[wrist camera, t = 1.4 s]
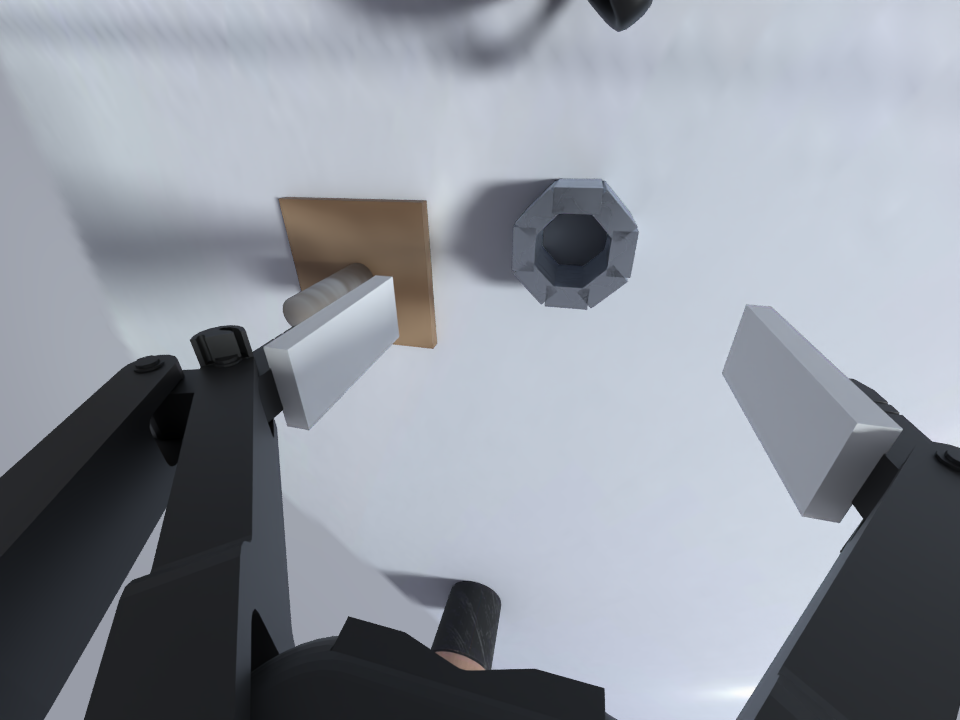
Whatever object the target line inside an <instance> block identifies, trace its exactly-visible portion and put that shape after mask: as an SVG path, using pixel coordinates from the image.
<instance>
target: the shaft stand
mask: <svg viewBox="0 0 960 720" xmlns="http://www.w3.org/2000/svg"><path fill="white" fill-rule="evenodd" d="M279 203H280V207H281V211H282V215H283V219H284V223H285V227H286V231H287V235H288V239H289V243H290V247H291V251H292V255H293V259H294V263H295V267H296V271H297V275H298V279H299V283H300V287H301V292H300V293H298V294H296V295H294V296H292V297H290V298H289V299H287V300H286V301H285V302H284V304H283V313H284V316H285V318H286V320H287V322H288V323H289V324H290V325H291V326H292V327H293V326H295V325H298V324H300V323H301V322H303V321H305V320H306V319H308V318H309V317H311V316H312V315H314V314H316V313H317V312H319V311H320V310H322V309H323V308H325V307H327V306H328V305H330V304H331V303H333V302H334V301H336V300H338V299H339V298H341V297H342V296H344V295H345V294H347V293H349V292H350V291H352V290H353V289H355V288H357V287H358V286H360V285H361V284H363V283H364V282H366V281H368V280H369V279H371V278H372V277H374V276H375V275H377V276H390V277H393V285H394V294H395V303H396V311H397V320H398V329H399V338H398V339H397V340H396V341H395V342H394V343H393V344H395V345H404V346H413V347H422V348H431V349H433V348H434V347H435V346H436V344H437V337H436V324H435V310H434V297H433V283H432V269H431V256H430V242H429V229H428V215H427V201H424V200H385V199H345V198H306V197H284V198H280V199H279Z"/></svg>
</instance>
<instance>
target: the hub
mask: <svg viewBox="0 0 960 720" xmlns="http://www.w3.org/2000/svg"><path fill="white" fill-rule="evenodd" d="M558 214H592V215H593V216H594V218H595V219H596V220H597V221H598V222H599V224H600V225H601V226H602V227H603V228H604V230H605V231H606V232H607V237H606V243H605V249H604V250H603V251H601V252H600V253H599V254H598V255H596V256H595V257H594V258H593V259H591V260H590V261H589V262H588V263H586V264H585V265H584V266H582V265H565V264H558V263H557V262H556V261H555V259H554V258H553V257H552V256H551V255H550V254H549V253H548V251H547V250H546V249H545V248H544V247H543V231H544V227H545V226H547V225H548V224H549V223H550V222H551V221H552V220H553V219H554V218H555V217H556V216H557V215H558ZM515 223H516V224H515V225H514V227H513V252H512V271H515V272H514V276H515V277H516V278H517V279H518V280H519V281H520V282H521V283H522V284H523V285H524V286H525V287H526V289H527V290H528V291H529V292H530V293H531V294H532V295H533V296H534V297H535V298H536V299H537V301H538V302H539V303H540V304H542V303H544V302H545V306H548V307H560V308H573V309H585V310H587V306H589V307H590V308H592V307H594V306H595V305H597V304H598V303H599V302H601V301H602V300H603V299H605V298H606V297H608V296H609V295H610V294H612V293H613V292H614V291H616V290H617V289H618V288H620V287H621V286H623V285H624V284H625V283H627V282H628V281H627V278H630V276H631V271H632V266H633V260H634V255H635V250H636V244H637V239H638V233H639V231H638V229H637V225H636V223H635V221H634V219H633V217H632V215H631V213H630V211H629V210H628V209H627V207H626V206H625V205H624V204H623V203H622V201H621V200H620V199H619V198H618V196H617V195H616V194H615V193H614V191H613V190H612V189H611V188H610V186H609V185H608V184H607V183H606V181H604V182H603V183H602V179H559V180H558V182H557V181H555V182H554V183H553V184H552V185H551V186H550V187H549V188H548V189H547V190H546V191H545V192H544V193H542V194H541V195H540V196H539V197H538V198H537V199H536V200H535V201H534V202H533V203H532V204H531V205H530V206H529V207H528V208H527V209H526V210H525V212H524V213H523V214H522V215H521V216H520V218H519V219H518V220H517V221H516V222H515Z"/></svg>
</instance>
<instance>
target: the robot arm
mask: <svg viewBox="0 0 960 720" xmlns="http://www.w3.org/2000/svg"><path fill="white" fill-rule="evenodd" d="M398 338H399V329H398V320H397V311H396V303H395V294H394V285H393V277H390V276H377V275H375V276H374V277H372V278H371V279H369V280H368V281H366V282H364V283H363V284H361V285H360V286H358V287H357V288H355V289H353V290H352V291H350V292H349V293H347V294H345V295H344V296H342V297H341V298H339V299H338V300H336V301H334V302H333V303H331V304H330V305H328V306H327V307H325V308H323V309H322V310H320V311H319V312H317V313H316V314H314V315H312V316H311V317H309V318H308V319H306V320H305V321H303V322H301V323H300V324H298V325H295V326H293V327H291V328H290V329H288V330H287V331H285V332H284V334H280V335H279V336H277V337H276V338H275V339H272V340H271V341H269V342H268V343H266V344H264V345H263V346H261V347H260V348H258V349H257V350H255V351H253V352H252V349H251V346H250V343H249V340H248V337H247V334H246V331H245V329H244V328H243V327H240V326H233V325H229V326H219V327H215V328H210V329H207V330H205V331H202V332H199V333H198V334H196V335H194V336H193V337H192V338H191V339H190V342H191V344H192V346H193V349H194V351H195V354H196V356H197V359H198V361H199V364H200V366H201V368H200V369H195V370H182V369H181V366H180V364H179V362H178V359H177V358H176V357H175V356H172V355H157V356H153V355H151V356H146V357H145V358H144V357H143V358H140V359H137V361H135V362H132V363H130V364H128V365H127V366H125V367H124V368H122V369H121V370H120V371H119V372H118V373H117V374H115V375H114V376H113V377H112V378H111V379H110V380H109V381H108V382H107V383H105V384H104V385H103V386H102V387H101V388H100V389H99V390H98V391H97V392H95V393H94V394H93V395H92V396H91V397H90V398H89V399H87V401H85V402H84V403H83V404H82V405H81V406H80V407H79V408H78V409H76V410H75V411H74V412H73V413H72V414H71V415H70V416H68V417H67V418H66V419H65V420H64V421H63V422H62V423H61V424H60V425H58V426H57V428H55V429H54V430H53V431H52V432H51V433H50V434H48V436H46V437H45V438H44V439H43V440H42V441H41V442H39V443H38V444H37V445H36V446H35V447H34V448H33V449H32V450H31V451H29V452H28V453H27V454H26V455H25V456H24V457H23V458H22V459H21V460H19V461H18V462H17V463H16V464H15V465H14V466H13V467H12V468H10V469H9V470H8V471H7V472H6V473H5V474H4V475H3V476H2V477H0V720H44V718H45V717H46V715H47V713H48V712H49V710H50V709H51V707H52V705H53V703H54V702H55V700H56V698H57V696H58V695H59V693H60V691H61V689H62V688H63V686H64V684H65V682H66V681H67V679H68V677H69V676H70V674H71V672H72V670H73V668H74V667H75V665H76V663H77V662H78V660H79V658H80V656H81V655H82V653H83V651H84V649H85V648H86V646H87V644H88V643H89V641H90V639H91V637H92V636H93V634H94V632H95V630H96V629H97V627H98V625H99V623H100V622H101V620H102V618H103V617H104V615H105V613H106V611H107V610H108V608H109V606H110V604H111V603H112V601H113V599H114V597H115V595H116V594H117V592H118V590H119V589H120V587H121V585H122V583H123V582H124V580H125V578H126V577H127V575H128V573H129V571H130V570H131V568H132V566H133V564H134V562H135V561H136V559H137V557H138V556H139V554H140V552H141V550H142V549H143V547H144V545H145V544H146V542H147V540H148V538H149V536H150V535H151V533H152V531H153V529H154V528H155V526H156V524H157V523H158V521H159V519H160V517H161V516H162V514H163V512H164V511H165V509H166V512H165V516H164V521H163V525H162V529H161V533H160V537H159V541H158V545H157V549H156V554H155V558H154V562H153V566H152V570H151V573H150V574H149V575H146V576H143V577H140V578H137V579H134V580H132V581H131V582H130V583H129V584H128V585H127V586H126V587H125V589H124V591H123V593H122V595H121V597H120V600H119V603H118V606H117V610H116V613H115V617H114V620H113V623H112V627H111V630H110V633H109V637H108V640H107V644H106V647H105V650H104V654H103V657H102V661H101V664H100V667H99V671H98V674H97V677H96V681H95V684H94V688H93V691H92V694H91V698H90V701H89V705H88V708H87V711H86V715H85V718H84V720H617V719H615V718H614V717H612V716H610V715H609V714H607V713H606V712H605V692H604V688H601V687H598V686H594V685H591V684H587V683H584V682H580V681H577V680H573V679H569V678H566V677H562V676H559V675H555V674H552V673H548V672H545V671H541V670H537V669H506V670H463V669H460V668H458V667H456V666H455V665H453V664H452V663H450V662H449V661H447V660H446V659H444V658H443V657H441V656H440V655H438V654H437V653H435V652H434V651H432V650H431V649H429V648H428V647H426V646H425V645H423V644H422V643H420V642H419V641H417V640H416V639H414V638H413V637H411V636H410V635H408V634H407V633H405V632H402V631H398V630H395V629H391V628H388V627H384V626H381V625H377V624H373V623H370V622H366V621H363V620H359V619H356V618H352V617H349V616H348V618H347V620H346V623H345V624H344V626H343V628H342V630H341V632H340V634H339V636H332V637H326V638H321V639H316V640H313V641H310V642H307V643H304V644H301V645H298V646H296V647H295V644H294V640H293V634H292V627H291V614H290V600H289V587H288V573H287V559H286V546H285V531H284V518H283V504H282V490H281V476H280V463H279V449H278V435H277V426H276V423H275V420H274V417H276V416H277V415H278V414H279V413H280V412H281V411H282V410H283V413H284V417H285V420H286V423H287V426H289V427H295V428H301V429H306V430H310V429H311V428H312V427H313V426H314V425H315V424H316V423H317V422H318V421H319V419H320V418H321V417H322V416H323V415H324V414H325V413H326V412H327V411H328V410H329V409H330V408H331V407H332V406H333V405H334V404H335V403H336V402H337V401H338V400H339V399H340V398H341V397H342V396H343V395H344V394H345V393H346V392H347V391H348V389H349V388H350V387H351V386H352V385H353V384H354V383H355V382H356V381H357V380H358V379H359V378H360V377H361V376H362V375H363V374H364V373H365V372H366V371H367V370H368V369H369V368H370V367H371V366H372V365H373V364H374V363H375V362H376V360H377V359H378V358H379V357H380V356H381V355H382V354H383V353H384V352H385V351H386V350H387V349H388V348H389V347H390V346H391V345H392V344H393V343H394V342H395V341H396V340H397V339H398ZM722 374H723V376H724V378H725V380H726V382H727V383H728V385H729V387H730V389H731V390H732V392H733V394H734V396H735V398H736V399H737V401H738V403H739V405H740V407H741V408H742V410H743V412H744V414H745V416H746V417H747V419H748V421H749V423H750V424H751V426H752V428H753V430H754V432H755V433H756V435H757V437H758V439H759V441H760V442H761V444H762V446H763V448H764V450H765V451H766V453H767V455H768V457H769V458H770V460H771V462H772V464H773V466H774V467H775V469H776V471H777V473H778V475H779V476H780V478H781V480H782V482H783V484H784V485H785V487H786V489H787V491H788V493H789V494H790V496H791V498H792V500H793V501H794V503H795V505H796V507H797V509H798V510H799V512H800V514H801V516H803V517H808V518H814V519H820V520H825V521H831V522H837V523H840V522H841V520H842V519H843V517H844V516H845V514H846V513H847V512H848V510H849V509H850V507H851V506H852V504H853V505H854V507H855V508H856V509H857V511H858V512H859V513H860V515H861V516H862V518H863V520H862V521H861V523H860V524H859V526H858V527H857V528H856V530H855V531H854V533H853V534H852V535H851V537H850V538H849V540H848V541H847V542H846V544H845V545H844V547H843V548H842V549H841V551H840V552H841V554H840V555H839V557H838V558H837V560H836V562H835V563H834V565H833V566H832V568H831V570H830V571H829V573H828V574H827V576H826V577H825V579H824V581H823V582H822V584H821V585H820V587H819V589H818V590H817V592H816V593H815V595H814V597H813V598H812V600H811V601H810V603H809V604H808V606H807V608H806V609H805V611H804V612H803V614H802V616H801V617H800V619H799V620H798V622H797V624H796V625H795V627H794V628H793V630H792V631H791V633H790V635H789V636H788V638H787V639H786V641H785V643H784V644H783V646H782V647H781V649H780V651H779V652H778V654H777V655H776V657H775V658H774V660H773V662H772V663H771V665H770V666H769V668H768V670H767V671H766V673H765V674H764V676H763V678H762V679H761V681H760V682H759V684H758V685H757V687H756V689H755V690H754V692H753V693H752V695H751V697H750V698H749V700H748V701H747V703H746V705H745V706H744V708H743V709H742V711H741V712H740V714H739V716H738V717H737V719H736V720H956V719H957V714H958V711H959V707H960V448H958V447H955V446H952V445H948V444H943V443H937V442H932V441H931V440H930V439H929V438H927V437H926V436H925V435H924V434H923V433H922V432H921V431H920V430H918V429H917V428H916V427H915V426H914V425H913V424H912V423H911V422H909V421H908V420H907V419H906V418H905V417H904V416H903V415H899V412H898V411H897V410H896V409H895V408H894V407H893V406H891V405H888V402H887V401H886V400H885V399H884V398H882V397H881V396H880V395H879V394H878V393H877V392H876V391H875V390H873V389H871V388H869V387H867V386H866V385H864V384H862V383H860V382H858V381H856V380H855V379H849V378H847V377H846V376H845V375H844V374H843V373H842V372H841V371H840V370H839V369H838V368H837V367H836V366H835V365H834V364H832V363H831V362H830V361H829V360H828V359H827V358H826V357H825V356H824V355H823V354H822V353H821V352H820V351H818V350H817V349H816V348H815V347H814V346H813V345H812V344H811V343H810V342H809V341H808V340H807V339H806V338H805V337H803V336H802V335H801V334H800V333H799V332H798V331H797V330H796V329H795V328H794V327H793V326H792V325H791V324H789V323H788V322H787V321H786V320H785V319H784V318H783V317H782V316H781V315H780V314H779V313H778V312H777V311H775V310H774V309H773V308H772V307H770V306H757V305H746V307H745V309H744V312H743V315H742V318H741V321H740V324H739V326H738V329H737V332H736V335H735V338H734V341H733V343H732V346H731V349H730V352H729V355H728V357H727V360H726V363H725V366H724V369H723V372H722ZM166 507H167V508H166Z"/></svg>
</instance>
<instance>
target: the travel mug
mask: <svg viewBox="0 0 960 720" xmlns="http://www.w3.org/2000/svg"><path fill="white" fill-rule="evenodd" d="M500 609H501V600H500V598H499V596H498V595H497V594H496V593H495V592H494V591H493V590H491V589H490V588H488V587H486V586H484V585H482V584H479V583H476V582H469V581H464V582H459V583H457V584H455V585H454V586H453V587H452V589H451V592H450V595H449V598H448V600H447V603H446V606H445V609H444V612H443V615H442V618H441V621H440V624H439V627H438V630H437V633H436V636H435V639H434V642H433V645H432V648H431V650H432V651H434V652H435V653H437V654H438V655H440V656H441V657H443V658H444V659H446V660H447V661H449V662H450V663H452V664H453V665H455V666H456V667H458V668H460V669H463V670H491V667H492V661H493V654H494V648H495V642H496V635H497V629H498V623H499V616H500Z"/></svg>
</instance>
